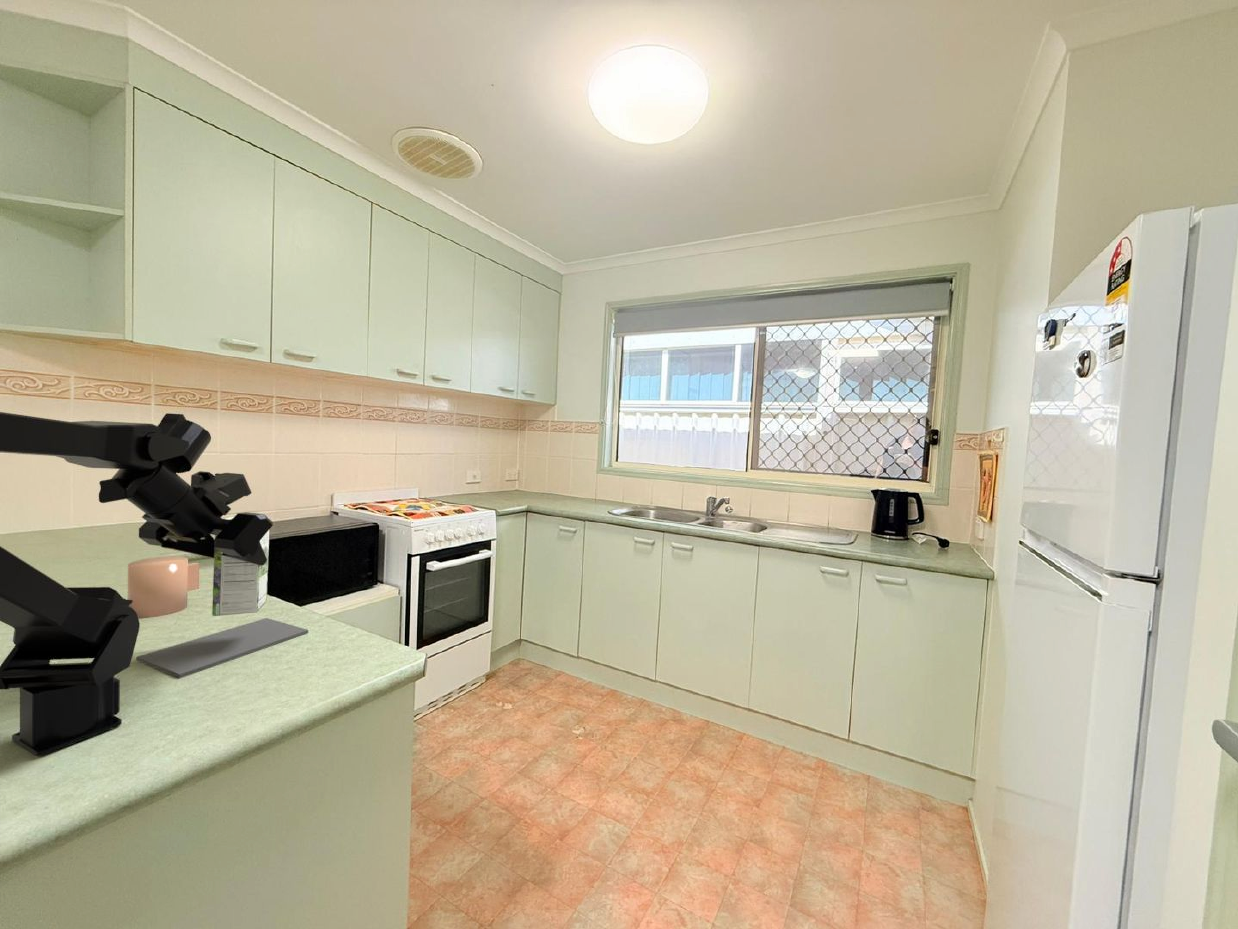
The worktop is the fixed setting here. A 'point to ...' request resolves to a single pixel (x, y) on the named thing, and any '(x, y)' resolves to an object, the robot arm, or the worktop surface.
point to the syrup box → (239, 583)
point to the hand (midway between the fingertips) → (244, 560)
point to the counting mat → (220, 647)
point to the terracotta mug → (161, 585)
